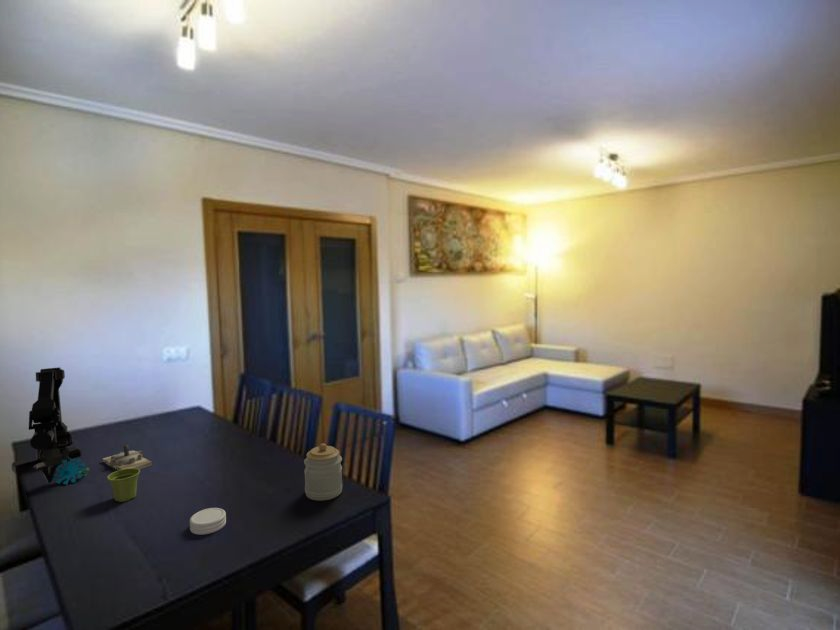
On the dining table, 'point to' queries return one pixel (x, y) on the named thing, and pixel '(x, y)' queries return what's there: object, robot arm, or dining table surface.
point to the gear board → (135, 465)
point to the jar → (323, 473)
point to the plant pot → (124, 483)
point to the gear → (70, 471)
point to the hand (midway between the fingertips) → (49, 482)
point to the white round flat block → (207, 521)
